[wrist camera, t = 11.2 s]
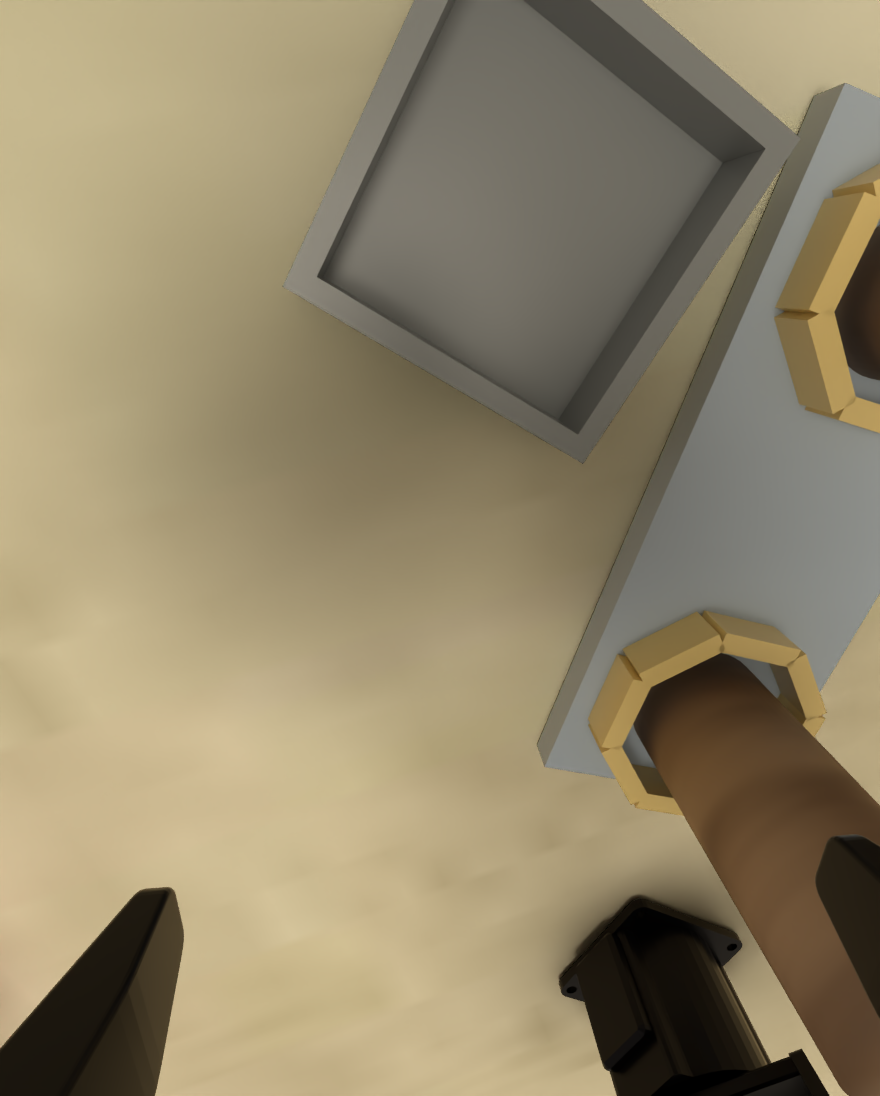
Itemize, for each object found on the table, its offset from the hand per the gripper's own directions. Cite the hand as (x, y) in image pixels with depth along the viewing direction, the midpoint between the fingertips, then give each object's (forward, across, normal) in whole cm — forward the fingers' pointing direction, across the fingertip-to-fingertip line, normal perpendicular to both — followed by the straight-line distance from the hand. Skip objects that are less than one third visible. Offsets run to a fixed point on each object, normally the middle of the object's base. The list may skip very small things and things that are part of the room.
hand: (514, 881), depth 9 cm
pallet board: (+13, -11, 0) cm, 17 cm away
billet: (+12, -10, +7) cm, 17 cm away
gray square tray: (+13, -2, -9) cm, 16 cm away
